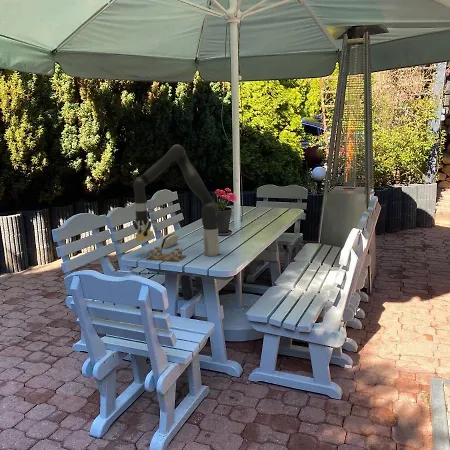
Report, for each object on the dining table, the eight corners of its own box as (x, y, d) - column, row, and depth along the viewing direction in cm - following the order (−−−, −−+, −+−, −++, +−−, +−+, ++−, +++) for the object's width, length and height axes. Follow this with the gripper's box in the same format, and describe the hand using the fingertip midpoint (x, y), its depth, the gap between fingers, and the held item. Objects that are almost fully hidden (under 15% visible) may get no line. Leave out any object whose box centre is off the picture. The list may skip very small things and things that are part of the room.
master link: (146, 236, 303) (146, 229, 302) (150, 236, 302) (150, 229, 301) (135, 241, 289) (135, 234, 288) (140, 242, 288) (139, 234, 287)
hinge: (171, 242, 327) (175, 230, 324) (176, 245, 326) (180, 233, 322) (157, 248, 313) (161, 235, 309) (163, 251, 311) (166, 238, 308)
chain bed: (186, 256, 291) (185, 247, 289) (178, 262, 279) (178, 252, 278) (154, 254, 297) (154, 245, 296) (146, 259, 286) (145, 250, 285)
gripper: (153, 208, 293) (155, 235, 297) (134, 208, 298) (136, 234, 301) (148, 211, 286) (150, 237, 290) (128, 210, 291) (130, 237, 294)
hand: (143, 235), depth 295 cm, fingers closed on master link, 3 cm apart
